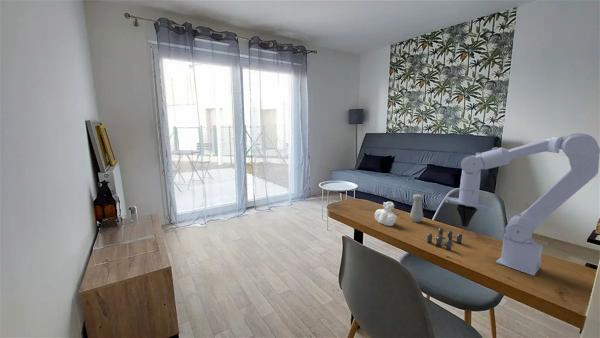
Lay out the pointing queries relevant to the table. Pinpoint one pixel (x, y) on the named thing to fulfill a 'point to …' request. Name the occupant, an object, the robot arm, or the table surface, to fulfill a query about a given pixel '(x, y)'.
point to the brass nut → (444, 239)
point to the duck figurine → (386, 214)
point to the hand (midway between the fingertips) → (465, 225)
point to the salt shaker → (417, 208)
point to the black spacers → (449, 242)
